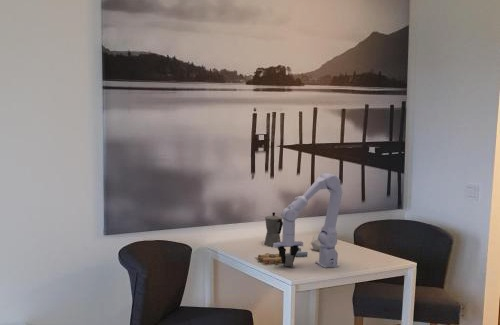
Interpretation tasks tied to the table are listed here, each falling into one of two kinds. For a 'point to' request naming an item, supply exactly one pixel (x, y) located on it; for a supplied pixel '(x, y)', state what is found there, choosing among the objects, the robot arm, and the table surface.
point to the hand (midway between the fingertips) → (287, 261)
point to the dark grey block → (288, 259)
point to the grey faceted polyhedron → (315, 243)
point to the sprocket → (270, 258)
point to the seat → (300, 253)
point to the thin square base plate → (268, 263)
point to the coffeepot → (273, 229)
